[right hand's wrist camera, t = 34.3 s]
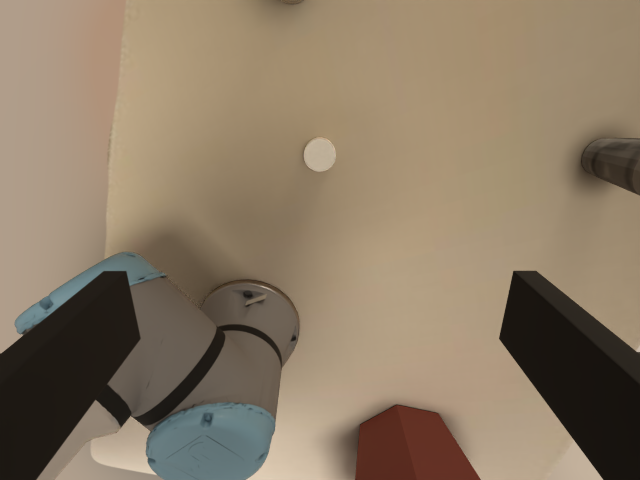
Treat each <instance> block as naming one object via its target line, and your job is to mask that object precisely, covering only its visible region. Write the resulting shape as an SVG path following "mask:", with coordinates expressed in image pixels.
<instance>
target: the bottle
mask: <svg viewBox="0 0 640 480" xmlns="http://www.w3.org/2000/svg"><path fill="white" fill-rule="evenodd" d="M281 1H282V2H284V3H287V4H297V3H300V2H301V1H303V0H281Z"/></svg>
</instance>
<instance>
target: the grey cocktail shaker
mask: <svg viewBox="0 0 640 480" xmlns="http://www.w3.org/2000/svg"><path fill="white" fill-rule="evenodd" d="M582 166H583V168H584V169H585V171H587V172H589V173H591V174H593V175H595V176H596V177H598V178H601V179H603V180H605V181H608V182H610V183H612V184H615V185H617V186H619V187H622V188H624V189H626V190H628V191H631V192H633V193H635V194H638V195H640V139H638V138H610V139H607V138H604V139H598V140H596V141H594V142H593V143H591V144H590V145H589V146H588V147H587V148H586V150H585V151H584V153H583V156H582Z"/></svg>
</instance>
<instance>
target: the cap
mask: <svg viewBox="0 0 640 480" xmlns="http://www.w3.org/2000/svg"><path fill="white" fill-rule="evenodd" d="M335 159H336V151H335V148H334V146H333V144H332V143H331V142H330V141H329V140H328V139H326V138H323V137H317V138H314V139H312V140H310V141H309V142H308V143H307V145H306V147H305V150H304V161H305V163H306V165H307V166H308V167H309V168H310V169H312V170H314V171H317V172H323V171H326V170H328V169H329V168H331V167H332V165H333V164H334V162H335Z"/></svg>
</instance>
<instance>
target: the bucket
mask: <svg viewBox="0 0 640 480" xmlns="http://www.w3.org/2000/svg"><path fill="white" fill-rule="evenodd" d="M355 480H481V479H480V478H479V476H478V475H477V473H476V472H475V470H474V468H473V467H472V465H471V464H470V462H469V461H468V459H467V458H466V456H465V454H464V453H463V451H462V450H461V448H460V447H459V445H458V444H457V442H456V440H455V439H454V437H453V436H452V434H451V433H450V431H449V429H448V428H447V426H446V425H445V423H444V422H443V420H442V419H441V417H440V415H439V414H438V413H434V412H429V411H424V410H419V409H414V408H409V407H404V406H399V405H396V406H394V407H392V408H390V409H388V410H386V411H385V412H383V413H381V414H379V415H377V416H375V417H374V418H372V419H370V420H368V421H366V422H364V423H363V424H361V425H360V432H359V443H358V453H357V464H356V476H355Z"/></svg>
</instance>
